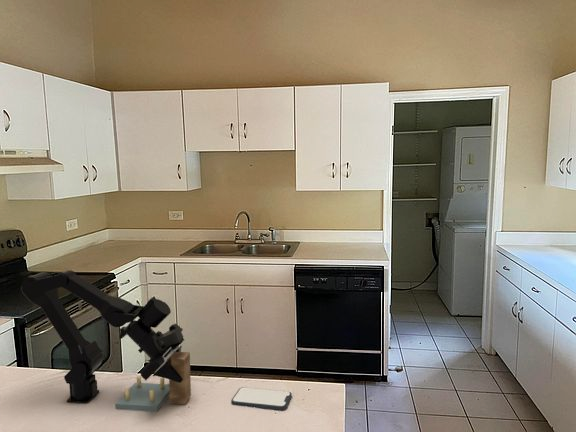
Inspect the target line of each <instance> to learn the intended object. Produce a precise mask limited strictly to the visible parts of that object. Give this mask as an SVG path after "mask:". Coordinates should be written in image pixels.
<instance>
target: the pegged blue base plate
mask: <svg viewBox="0 0 576 432" xmlns="http://www.w3.org/2000/svg"><path fill="white" fill-rule="evenodd" d="M159 380H160V381H159V383H150V382H148V383H147V382H142V377H141V375H139V376H137V377H136V382H134V383H133V384H132V385H131V387H129V388H125V389H124V394H123V395H122V396H121V397H120V398H119V399H118V400H117V401H116V402H115V403H114V405H115V410H126V411H128V410H129V411H140V412H141V411H142V412H156V413H158V411H159V410H160V408H161V407H162V406H163V405H164V403H165V402H166V400H167V399H168V398H169V397H170V388H169V384H166V383H165V378H163V377H159Z"/></svg>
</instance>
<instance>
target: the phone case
mask: <svg viewBox="0 0 576 432" xmlns="http://www.w3.org/2000/svg"><path fill="white" fill-rule="evenodd" d="M292 394H293V393H292V392H291V391H286V390H276V389H267V388H265V389H264V388H256V387H255V388H254V387H247V386H244V387H243V386H242V387H240V388H238V390H237V391H236V393H235V394H234V395H233V397H232V398H231V405H233V406H239V407H246V406H247V407H248V408H254V407H255V409H262V410H270V411H271V410H272V411H280V412H283V411H285V410H287V409H288V406H289V404H290V402H291V400H292V397H293V396H292ZM247 407H246V408H247Z"/></svg>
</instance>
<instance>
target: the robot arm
mask: <svg viewBox="0 0 576 432" xmlns="http://www.w3.org/2000/svg"><path fill="white" fill-rule="evenodd" d="M58 288H59V289H60V288H63V289H64V290H66V291H68V293H69V292H70V293H71V294H72V295H74V296H76V297H78V298H79V299H80V300H81V301H83V302H85V303H86V304H88V305H90V307H93V308H94V309H96V310H97V311H98V312H99V313H100V316H101V317H102V319H103V320H104V321H106V322H107V324H109V325H110V326H111V327H113V328H119V327H121V328H120V329H119V339H120V340H121V339H123V338H125V337H126V336H128V337H129V338H130V339H131V341H132V342H133V343H135V344H136V345H137V347H138V352H139V353H140V354H141V353H145V355H146V356H148V358H149V360H148V363H147V364H146V365H145V366H144V367H143V368H142V369H141V370H140V376H141V379H143V380H144V381H147V380H148V379H149V378H150V377H151V376H152V377H159V378H164V379H166V380H169V379H170V380H173V381H176V382H179V383H181V382H182V381H183V379H182V378H181V376H180V375H179V374H178V373H177V371H176V370H175V369H174V368H173V367H172V365H171V358H169V357H170V356H171V355H172V354H173V353H174V352H182V345H181V344H182V343H183V342H185V338H184V335H183V333H182V332H183V331H184V330H183V328H182V327H180V325H178V324H177V323H173V324H171V325H170V326H169V327H168V331H166V332H164V333H162V331H159V330H157V331H154V328H157V327H159V326H160V325H161V323H162V322H164V321H165V319H166V318H168V317H169V315H171V313H172V312H171V311H172V310H171V308H170V306H169V305H168V304H167V302H165V301H162V299H158V298H156V297H155V296H152V297H150V299H149V300H148V301H147V302H146V304H145V305H144V306H143V305H137V304H133V303H132V302H130V301H128V300H126V299H123V298H121V297H118V296H112V295H109V294H108V293H106V292H104V291H103V290H101V289H100V288H98V287H96V286H95V285H93V284H91V283H90V282H89V281H87V280H86V279H84V278H83V277H81V276H79V275H78V274H77V273H76V272H75V271H73V270H71V269H68V270H65V271H58V272H53V273H50V272H45V271H42V272H39V273H36V274H34V275H31V276H29V277H26V278H25V279H23V281H22V283H21V286H20V289H21V293H23V295H24V296H25V297H26V298H27V299H28V300H29V302H31V303H32V304H34V305H36V306H38V307H40V309H42V311H43V313H44V314H45V316H46V317H47V319H48V320H49V322H50V324H51V325H52V327H53V328H54V330H55V331H56V333H57V335H58V336H59V338H60V339H61V341H62V343H63V344H64V345H65V347H66V349H67V352H68V362H69V364H70V367H71V369H70V370H69V371H67V373H66V374H65V375H64V376H63V378H64V381H65V382H66V383H65V384H69V397H68V398H67V399H66V402H67V403H82V404H88V403H89V402H90V401H92V399H94V398H95V397H96V396H97V395H98V394H99V393H100V390H99V389H98V381H97V379H96V374H95V372H96V371H97V370H98V369H99V367H100V366H101V364H102V363H103V360H104V355H103V350H102V349H101V348H100V346H99V345H98V342H97V341H96V340H93V341H92V342H90V341H88V340H86V339H85V338H84V336H83V335H82V333H81V331H80V329H79V328H78V326H77V325H76V323H75V322H74V321H73V318H72V317H71V315H70V314H69V313H68V311H67V309H66V308H65V306H64V304H63V303H62V301H61V299H60V297H59V289H58ZM136 319H137V320H136ZM126 324H127V325H126ZM124 325H126V326H124ZM168 358H169V359H168Z"/></svg>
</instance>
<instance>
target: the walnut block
mask: <svg viewBox="0 0 576 432" xmlns="http://www.w3.org/2000/svg"><path fill="white" fill-rule="evenodd" d="M190 354H191V353H190V352H186V351H185V352H184V351H181V352H174V353H173V354H172V355H171V356H170V357H169V358H171V365H172V367H173V368H174V369H175V370H176V371H177V373H178V374H179V375H180V376H181V378H182V379H183V381H182V382H181V383H179V382H176V381H173V380H170V379H168V380H169V381H168V383H169V388H170V395H169V404H180V405H186V404H187V402H188V401H189V400H190V398H191V396H192V389H191V386H192V385H191V383H192V380H191V355H190ZM169 358H168V359H169Z"/></svg>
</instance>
